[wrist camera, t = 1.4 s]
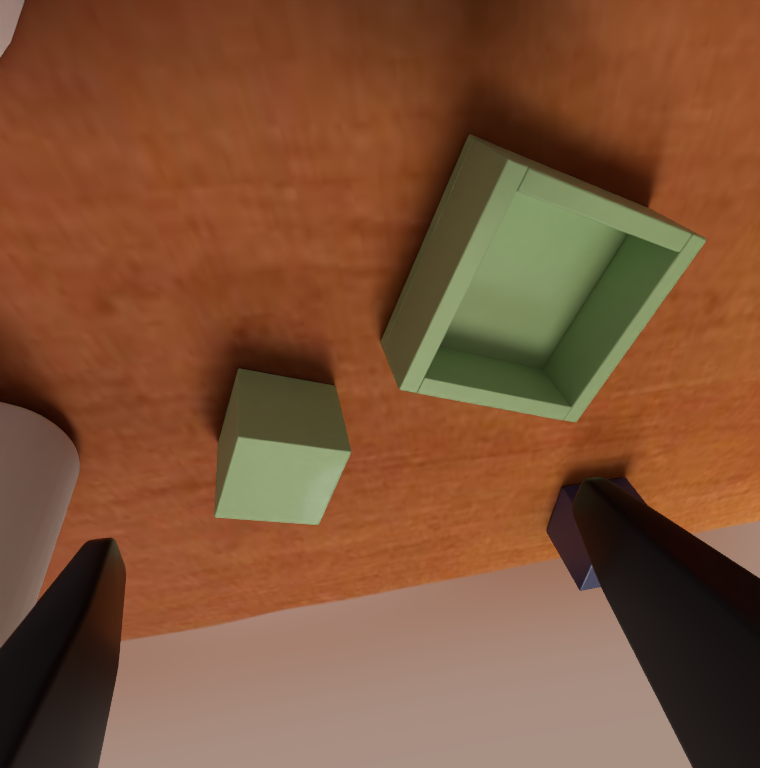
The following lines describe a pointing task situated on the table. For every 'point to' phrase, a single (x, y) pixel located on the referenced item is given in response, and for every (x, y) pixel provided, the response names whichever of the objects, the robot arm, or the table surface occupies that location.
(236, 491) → the sage block
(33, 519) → the beverage can
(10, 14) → the cup
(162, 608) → the table surface
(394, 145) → the table surface
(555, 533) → the navy block
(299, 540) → the table surface
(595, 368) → the sage bin
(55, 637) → the robot arm
